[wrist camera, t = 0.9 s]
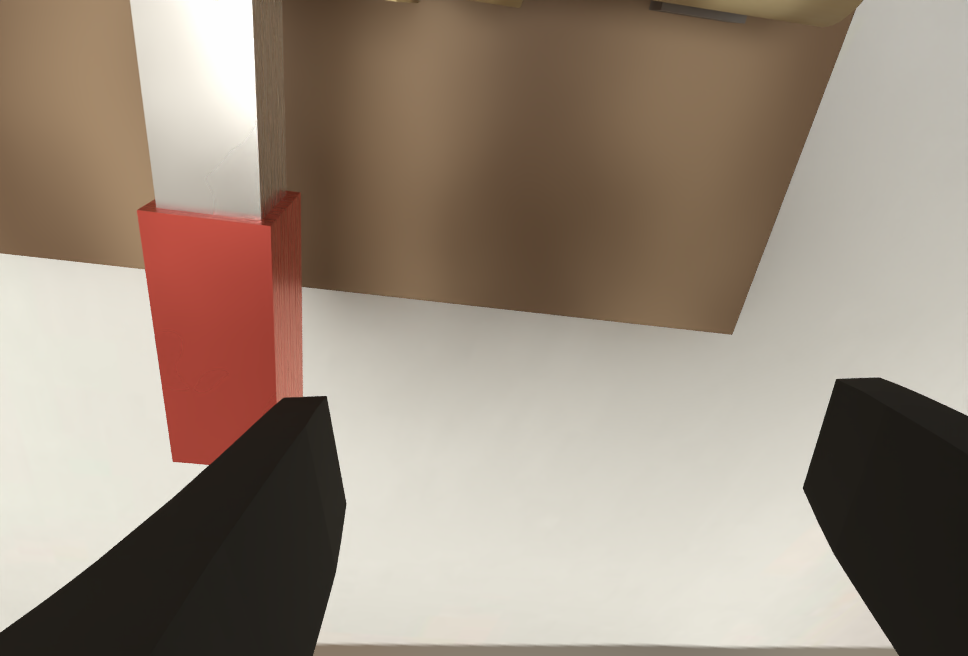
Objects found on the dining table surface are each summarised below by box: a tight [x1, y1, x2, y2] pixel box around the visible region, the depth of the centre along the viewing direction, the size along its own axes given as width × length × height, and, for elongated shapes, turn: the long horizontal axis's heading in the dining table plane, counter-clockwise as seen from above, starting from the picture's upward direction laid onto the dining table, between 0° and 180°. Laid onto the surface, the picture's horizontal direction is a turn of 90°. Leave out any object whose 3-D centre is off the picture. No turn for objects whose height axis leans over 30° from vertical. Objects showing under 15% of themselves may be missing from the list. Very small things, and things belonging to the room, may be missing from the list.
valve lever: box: [130, 0, 303, 465], centre depth 10 cm, size 12×2×2 cm, turn 172°
